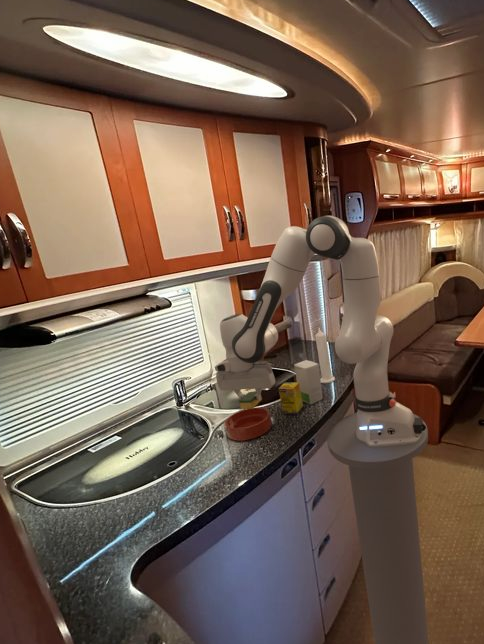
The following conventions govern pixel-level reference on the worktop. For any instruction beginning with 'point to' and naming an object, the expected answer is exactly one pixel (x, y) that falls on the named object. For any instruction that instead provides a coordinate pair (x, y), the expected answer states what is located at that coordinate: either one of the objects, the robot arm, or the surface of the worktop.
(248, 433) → the bowl
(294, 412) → the supplement box
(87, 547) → the worktop surface
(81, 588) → the worktop surface
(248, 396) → the sponge
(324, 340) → the candle
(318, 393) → the cosmetic box
